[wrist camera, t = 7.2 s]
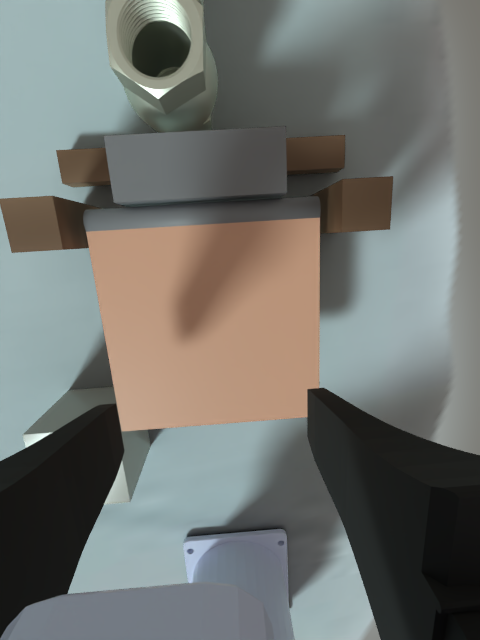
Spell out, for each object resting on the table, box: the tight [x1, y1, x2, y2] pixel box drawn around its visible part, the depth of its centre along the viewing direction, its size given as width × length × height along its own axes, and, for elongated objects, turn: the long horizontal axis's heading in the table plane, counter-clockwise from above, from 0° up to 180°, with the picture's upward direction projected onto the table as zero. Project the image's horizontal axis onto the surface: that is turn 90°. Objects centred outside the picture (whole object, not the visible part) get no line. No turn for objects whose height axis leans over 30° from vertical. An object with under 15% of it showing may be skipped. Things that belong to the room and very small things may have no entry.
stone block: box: [23, 386, 151, 504], centre depth 19 cm, size 5×5×5 cm
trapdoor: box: [83, 126, 321, 431], centre depth 15 cm, size 13×10×2 cm
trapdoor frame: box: [0, 135, 393, 253], centre depth 15 cm, size 5×15×6 cm, turn 93°
